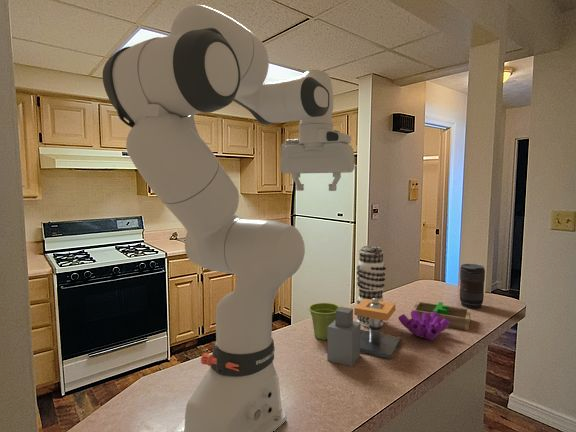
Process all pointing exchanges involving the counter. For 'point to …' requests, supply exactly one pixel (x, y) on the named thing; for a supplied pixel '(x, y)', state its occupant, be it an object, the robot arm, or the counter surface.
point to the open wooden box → (455, 315)
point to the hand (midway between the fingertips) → (315, 190)
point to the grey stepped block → (343, 338)
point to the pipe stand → (377, 338)
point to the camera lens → (472, 285)
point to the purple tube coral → (424, 324)
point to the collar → (374, 310)
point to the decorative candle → (370, 277)
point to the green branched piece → (441, 309)
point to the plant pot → (322, 318)
